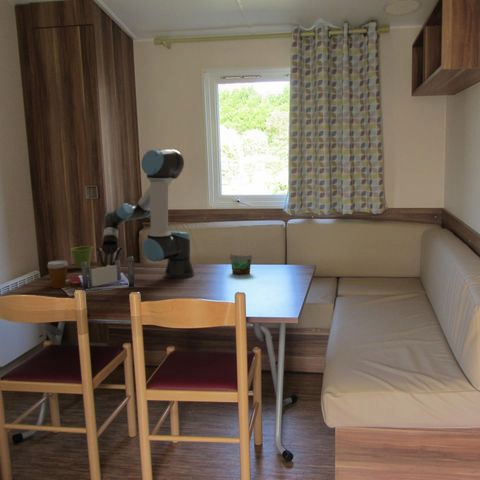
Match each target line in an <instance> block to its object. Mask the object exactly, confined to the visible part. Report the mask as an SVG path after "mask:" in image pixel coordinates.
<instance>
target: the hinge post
mask: <svg viewBox="0 0 480 480" xmlns="http://www.w3.org/2000/svg"><path fill="white" fill-rule="evenodd" d="M81 264H82V269H81V276H82V287H81V289H82V290H81V291H87V290H86V289H89V290H91V287H89V280H88V268H87V262H81Z"/></svg>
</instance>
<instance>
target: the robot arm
mask: <svg viewBox="0 0 480 480" xmlns="http://www.w3.org/2000/svg"><path fill="white" fill-rule="evenodd" d="M184 166H185V160H184V156H183V155H182V154H181V152H179V151H178V150H176V149H172V148H171V149H170V148H169V149H166V148H165V149H162V148H161V149H160V148H159V149H158V148H156V149H150V150H147V151H146V152H145V153H144V154H143V156H142V157H141V169H142V171H143V173H144V174H145V175H146V179H147V180H148V181H149V186H148V188H147V189H146V190H145V192H144V194H143V195H142V196H141V197H140V199H139V200H138V202H137V203H136V204H132V205H131V204H129V203H127V202H126V203H125V202H124V203H122V204H120V205H119V206H117V208H116V209H115V210H110V211H107V212H106V213H105V215H104V220H103V235H102V236H103V237H102V245H101V247H100V248H96V251H97V254H98V256H99V261H100V266H101V267H106V266H112V265H115V261H116V260H120V257H121V254H122V253H123V252H124V251H123V248H122V247H119V245H118V244H119V243H118V242H119V232H120V231H119V229H120V228H119V227H120V226H121V225H122V224H124V223H125V222H126V221H127V222H128V221H133V220H139V219H146V218H149V219H150V225H149V226H150V228H149V229H150V230H149V231H148V232H147V235H146V236H147V237H146V239H145V240H144V241H143V242H142V252H143V254H144V257H146V258H147V259H148V260H149V261H151V262H155V263H156V262H162V261H165V260H167V263H166V267H165V268H164V269H165V270H164V277H165V278H168V279H176V280H177V279H187V278H191V277H194V276H195V271H194V267H193V265H192V262H191V244H190V242H191V241H190V240H191V239H190V234H189V233H188V232H187V231H175V230H174V231H172V230H170V231H169V186H170V184H171V183H172V182H173V180H176V179H178V177H179V176H180V175H181V173H182V172H183V169H184ZM103 252H104V254H105V255H104V258H103V254H102V253H103ZM115 253H116V254H115ZM114 254H115V257H114ZM108 263H109V264H108Z"/></svg>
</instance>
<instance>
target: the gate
mask: <svg viewBox="0 0 480 480" xmlns="http://www.w3.org/2000/svg"><path fill="white" fill-rule="evenodd" d="M121 272H122V271H121V260H120V259H119V260H116V261H115V265H112V266H106V267H104V266H103V267H102V266H101V267H97V268H92V267H88V268H87V274H88V287H90V288H92V287H97V286H101V285H105V284H109V283H114V282H121V281H122V275H121V274H122V273H121Z"/></svg>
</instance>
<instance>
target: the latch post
mask: <svg viewBox="0 0 480 480" xmlns="http://www.w3.org/2000/svg"><path fill="white" fill-rule="evenodd" d="M126 263H127V265H126V266H127V278H128V279H127V281H128V283H127V284H128V285H127V289H135V288H136V287H137V285H136V278H135V275H136V274H135V258H134V257H133V256H131V255H130V256H128V257H127V259H126Z"/></svg>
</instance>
